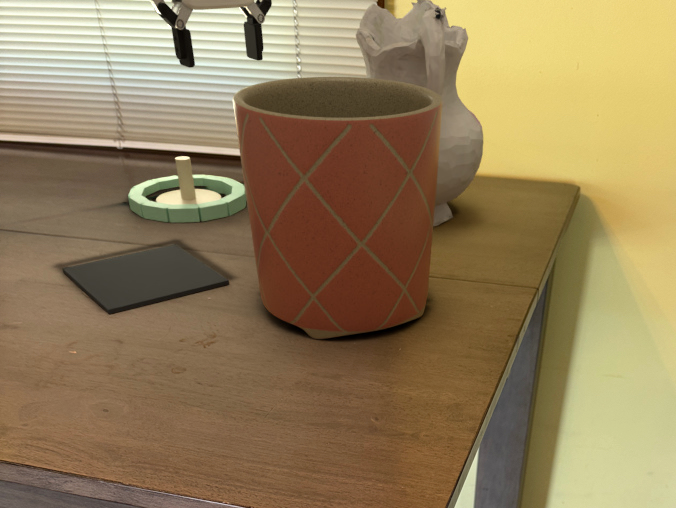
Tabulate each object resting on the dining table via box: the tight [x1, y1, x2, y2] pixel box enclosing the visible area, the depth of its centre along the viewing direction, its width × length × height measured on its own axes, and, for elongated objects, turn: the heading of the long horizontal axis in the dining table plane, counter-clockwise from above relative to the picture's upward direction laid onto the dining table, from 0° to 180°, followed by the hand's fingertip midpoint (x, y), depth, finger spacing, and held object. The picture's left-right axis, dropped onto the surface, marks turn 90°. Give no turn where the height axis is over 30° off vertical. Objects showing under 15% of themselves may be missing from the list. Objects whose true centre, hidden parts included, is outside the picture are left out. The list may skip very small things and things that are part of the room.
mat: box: [62, 243, 230, 315], centre depth 86 cm, size 14×14×1 cm
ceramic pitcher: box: [355, 0, 484, 227], centre depth 97 cm, size 22×20×25 cm
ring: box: [127, 174, 247, 224], centre depth 106 cm, size 16×16×2 cm
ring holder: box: [155, 155, 223, 205], centre depth 105 cm, size 9×9×6 cm
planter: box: [232, 76, 442, 340], centre depth 75 cm, size 19×19×20 cm
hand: (221, 62), depth 98 cm, fingers open, 9 cm apart
